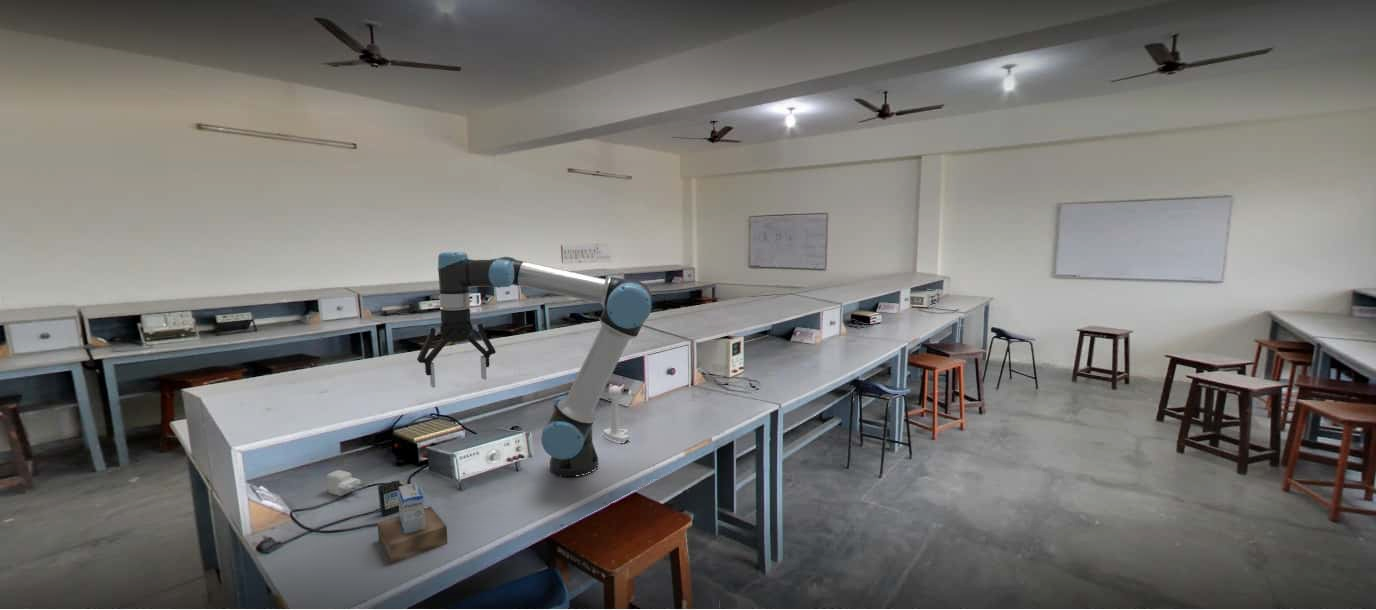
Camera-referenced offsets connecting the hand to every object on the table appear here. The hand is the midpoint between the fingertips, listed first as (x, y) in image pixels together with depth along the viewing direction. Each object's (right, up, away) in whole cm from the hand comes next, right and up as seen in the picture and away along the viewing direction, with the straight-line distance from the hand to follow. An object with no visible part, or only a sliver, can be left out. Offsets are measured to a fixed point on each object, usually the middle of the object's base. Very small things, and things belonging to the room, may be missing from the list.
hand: (459, 382), depth 150 cm
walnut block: (-1, -36, -22) cm, 42 cm away
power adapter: (-32, -32, 0) cm, 45 cm away
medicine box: (-1, -31, -23) cm, 39 cm away
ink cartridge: (-14, -33, -9) cm, 37 cm away
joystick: (+40, -27, +43) cm, 64 cm away
